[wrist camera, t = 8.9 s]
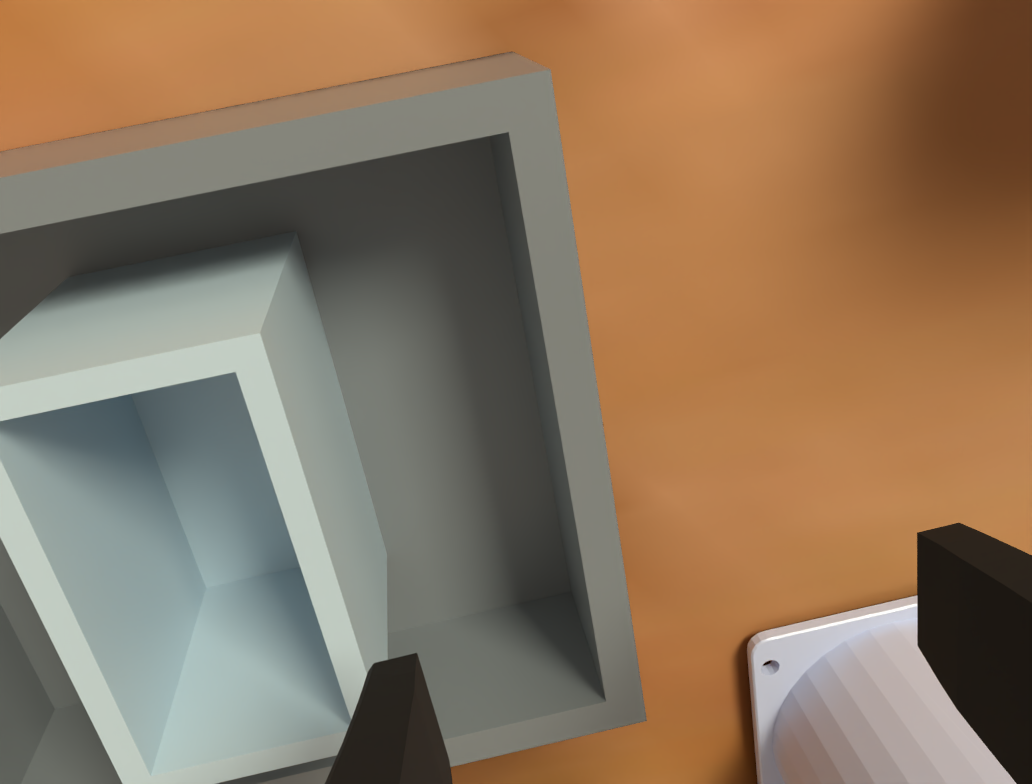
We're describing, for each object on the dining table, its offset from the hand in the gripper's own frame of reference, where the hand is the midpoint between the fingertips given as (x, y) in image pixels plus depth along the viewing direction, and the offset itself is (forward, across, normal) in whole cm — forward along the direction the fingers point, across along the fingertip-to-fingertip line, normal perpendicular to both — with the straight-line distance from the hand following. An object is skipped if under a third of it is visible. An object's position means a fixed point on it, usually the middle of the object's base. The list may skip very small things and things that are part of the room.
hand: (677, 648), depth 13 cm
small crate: (+9, +7, -1) cm, 11 cm away
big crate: (+9, +7, -1) cm, 12 cm away
